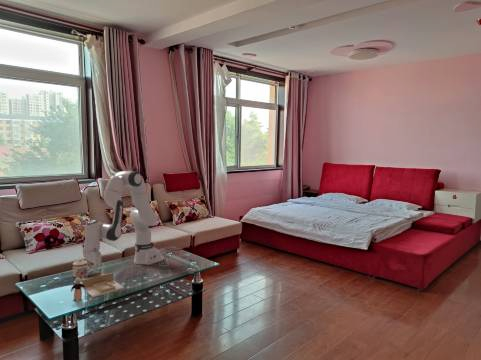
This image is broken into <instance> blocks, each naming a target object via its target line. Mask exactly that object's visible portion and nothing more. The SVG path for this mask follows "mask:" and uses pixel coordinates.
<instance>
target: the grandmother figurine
mask: <svg viewBox="0 0 481 360" xmlns="http://www.w3.org/2000/svg"><path fill="white" fill-rule="evenodd" d="M81 279H82V277H75V279H74V281H75V282H76V283H75V282H74V283H75V284H73V286H71V288H70V293H71V292H73V291H74V293H73V299H72V302H76V301H82V300H83V299H82V298H83V297H82V295H83V291H82V290H84V289H86V288H85V285H83V284H81V283H80V282H81ZM81 287H83V288H84V289H83V288H81Z"/></svg>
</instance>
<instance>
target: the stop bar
mask: <svg viewBox="0 0 481 360" xmlns="http://www.w3.org/2000/svg"><path fill="white" fill-rule="evenodd" d="M101 274H102V272H101V271H100V270H95V271H94V270H93V271H88V272H87V273H85V276H84V277H85V278H84V279H87V278H91V277H95V276H99V275H101Z"/></svg>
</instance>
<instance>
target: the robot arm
mask: <svg viewBox="0 0 481 360" xmlns="http://www.w3.org/2000/svg"><path fill="white" fill-rule="evenodd" d="M127 187H128V188H129V189H130V190H129V191H130V195H131V196H130V197H131V200H132V201H131V202H132V205H133V206H134V207H135V209H132V210H130V213H129V219H130V220H131V223H132V224H133V228H134V232H135V244H134V251H135V253H134V260H133V263H134V264H136V265H153V264H155V263H159V262H162V261H165V257H164V256H162V254H161V251H160V250H159V249H158V248H156V245H157V243H155V242H153V241H152V231H151V230H150V228H149V227H153V226H155V224H157V222H158V216H157V214H156V213H155V212H154V209H153V208H152V206H151V204H150V201H149V197H148V191H147V187H146V184H145V181H144V179H143V177H142V174H141V172H139V171H136V170H120V171H119V170H118V171H116V172H114V174H113V175H112V176H111V177H110V178H109V179H108V181H107V184H106V186H105V188H104V193H103V200H104V202H105V204H107V206H109V207H111V208H112V209H113V215H112V216H113V217H112V223H111V224H110V223H104V222H101V221H99V220H98V219H91V220H88V221H86V222H85V226H84V239H85V240H84V242H83V243H82V244H81V247H82V256H83V258H84V259H85V260H86V261H87V268H89V267H91V265H92V264H93V266H92V269H93V271H98V266H99V265H101V264H102V253H101V251H100V249H101V239H102V240H108V241H110V242H111V241H112V242H115V241H118V240H119V239H120V238H121V236H122V234H123V233H122V224H123V215H124V202H123V201H122V200H123V199H122V196H123V192H124V188H127ZM154 246H155V247H154Z"/></svg>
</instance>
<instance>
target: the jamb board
mask: <svg viewBox="0 0 481 360" xmlns="http://www.w3.org/2000/svg"><path fill="white" fill-rule="evenodd" d="M73 283H75V284H76V282H75V280H74V281H73ZM80 283H81V284H83V285H85V288H86V289H84V288H83V287H81V289H82V290H84V291H85V292H86V293H88V294H89V295H88V296H90V297H91V298H96V297H99V296H104V295H106V294H110V293H113V292H117V291H121V290H124V289H125V287H124V286H123V285H122V284H120V283H118V282H117V281H115V280H114V272H109V273H101V275H99V276H95V277H91V278H87V279H85V278H83V277H81V282H80Z"/></svg>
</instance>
